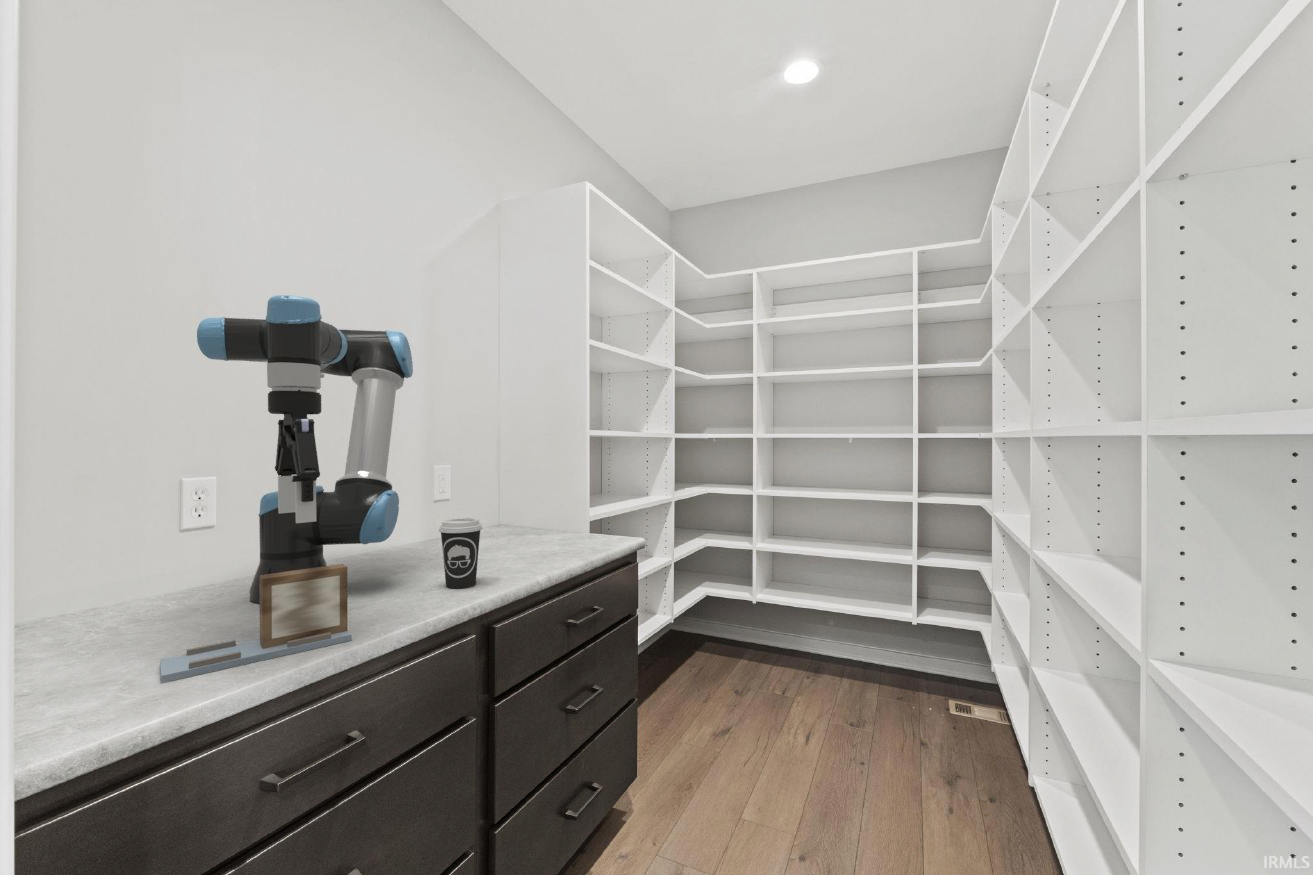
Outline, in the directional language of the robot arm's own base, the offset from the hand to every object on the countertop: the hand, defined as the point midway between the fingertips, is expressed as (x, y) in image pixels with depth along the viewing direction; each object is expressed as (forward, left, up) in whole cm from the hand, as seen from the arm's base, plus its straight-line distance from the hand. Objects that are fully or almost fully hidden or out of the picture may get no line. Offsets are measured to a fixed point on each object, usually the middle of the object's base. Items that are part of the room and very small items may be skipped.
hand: (296, 517), depth 94 cm
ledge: (+2, -5, -21) cm, 22 cm away
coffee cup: (-16, +35, -21) cm, 44 cm away
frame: (+2, +1, -20) cm, 20 cm away
